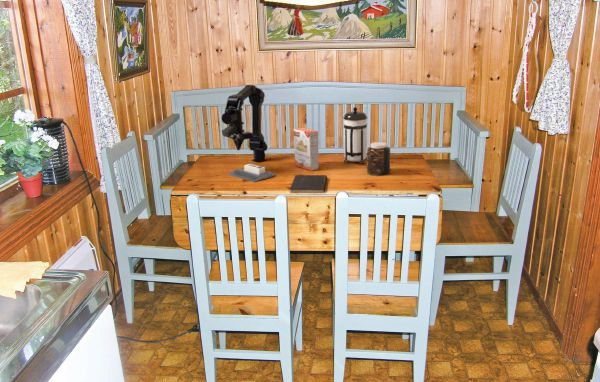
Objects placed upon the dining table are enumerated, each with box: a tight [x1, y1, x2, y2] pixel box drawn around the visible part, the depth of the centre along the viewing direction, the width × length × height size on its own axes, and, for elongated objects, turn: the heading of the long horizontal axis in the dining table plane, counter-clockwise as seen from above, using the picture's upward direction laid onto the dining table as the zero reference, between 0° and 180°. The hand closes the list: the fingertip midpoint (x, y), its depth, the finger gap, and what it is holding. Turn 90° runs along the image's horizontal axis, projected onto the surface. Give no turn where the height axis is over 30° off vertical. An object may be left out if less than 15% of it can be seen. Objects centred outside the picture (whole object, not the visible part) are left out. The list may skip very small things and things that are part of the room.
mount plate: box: [227, 167, 276, 183], centre depth 290 cm, size 21×14×3 cm, turn 44°
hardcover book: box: [289, 174, 328, 194], centre depth 270 cm, size 16×23×2 cm
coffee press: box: [342, 107, 368, 165], centre depth 303 cm, size 17×16×30 cm
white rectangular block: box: [243, 163, 266, 175], centre depth 287 cm, size 12×4×4 cm, turn 44°
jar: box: [366, 141, 391, 176], centre depth 284 cm, size 12×12×15 cm
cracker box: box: [293, 126, 320, 172], centre depth 297 cm, size 14×6×21 cm, turn 37°
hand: (238, 150), depth 293 cm, fingers closed
